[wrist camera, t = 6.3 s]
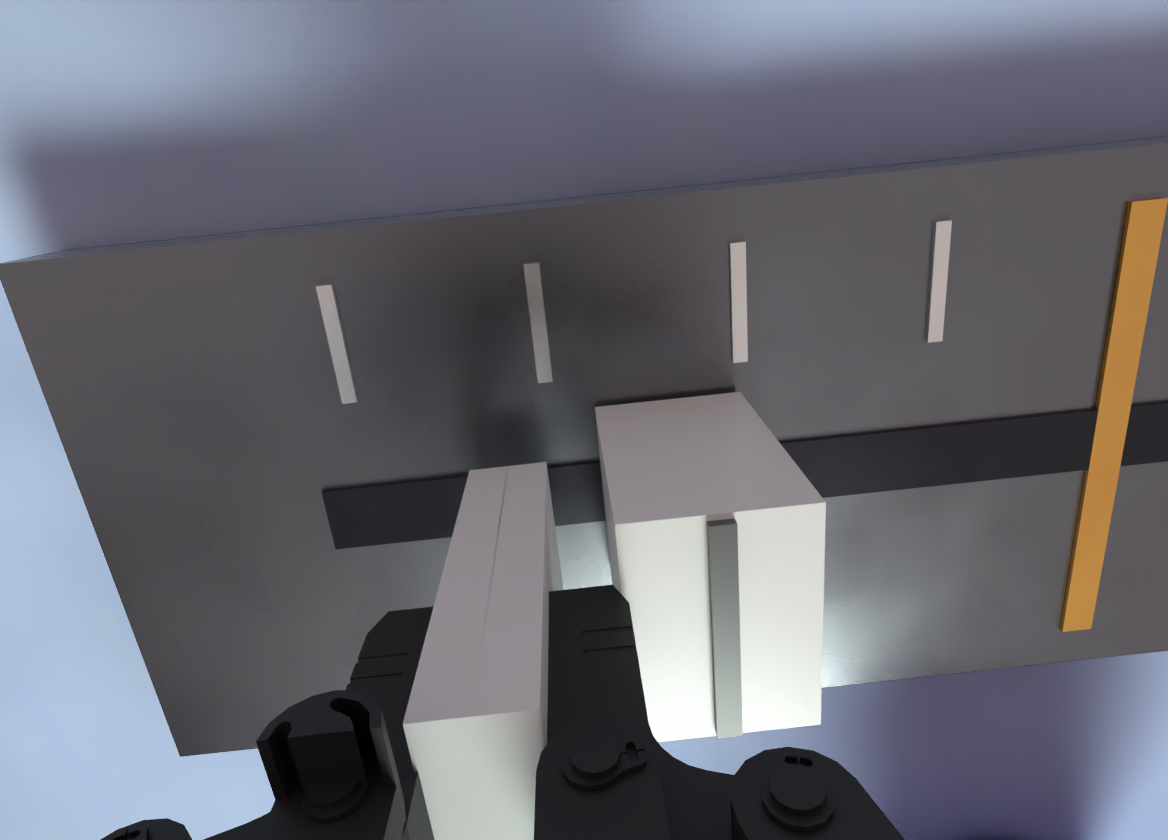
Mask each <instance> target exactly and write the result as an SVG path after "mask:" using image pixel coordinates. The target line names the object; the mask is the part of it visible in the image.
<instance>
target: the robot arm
mask: <svg viewBox="0 0 1168 840" xmlns="http://www.w3.org/2000/svg"><path fill="white" fill-rule="evenodd" d="M256 744H257V746H258V749H259V752H260V755H261V758H262V761H263V764H264V767H265V770H266V773H267V776H268V779H269V782H270V785H271V788H272V791H273V794H274V797H275V803H274V805H273V807H272V810H271V811H270V812H269V813H267V814H266V815H264V816H262V817H259V818H257V819H255V820H253V821H251V822H249V823H246V824H244V825H241V826H239V827H236V828H233V829H231V830H228V831H225V832H223V833H220V834H217V835H214V836H212V837H209V838H206V839H204V840H904V838H903V837H902V836H901V835H900V833H899V832H898V831H897V830H896V828H895V827H894V826H893V825H892V823H891V822H890V821H889V820H888V818H887V817H886V816H885V815H884V813H883V812H882V811H881V810H880V808H879V807H878V806H877V805H876V803H875V802H874V801H873V800H872V798H871V797H870V796H869V795H868V793H867V792H866V791H865V790H864V788H863V787H862V786H861V785H860V783H859V782H858V781H857V779H856V778H854V777H853V776H852V775H851V774H850V773H849V772H848V771H847V770H846V769H844V768H843V767H842V766H841V765H840V764H839V763H838V762H836V761H834V760H832V759H830V758H828V757H826V756H823V755H821V754H819V753H817V752H815V751H811V750H805V749H798V748H792V747H784V748H777V749H770V750H764V751H762V752H761V753H759V754H757V755H755V756H753V757H751V758H749V759H748V760H746V761H745V762H744V763H743V765H742V766H741V767H740V769H739V770H738V771H737V773H736V774H735V775H730V774H724V773H719V772H713V771H707V770H704V769H700V768H696V767H693V766H689V765H687V764H685V763H683V762H681V761H679V760H678V759H676V758H674V757H672V756H671V755H670V754H669V753H668V752H666V751H665V750H664V749H663V748H662V747H661V746H660V745H659V743H658V742H657V740H656V739H655V738H654V736H653V734H652V731H651V728H650V725H649V722H648V716H647V710H646V704H645V697H644V691H643V685H642V679H641V673H640V667H639V660H638V654H637V649H636V642H635V636H634V630H633V624H632V617H631V611H630V605H629V602H628V601H627V600H626V599H625V598H624V597H623V595H622V594H621V593H620V592H619V591H618V590H617V589H616V588H615V587H614V585H604V586H595V587H586V588H577V589H567V590H563V583H562V575H561V568H560V560H559V553H558V545H557V538H556V530H555V522H554V515H553V507H552V500H551V492H550V485H549V477H548V470H547V462H540V463H531V464H522V465H513V466H504V467H495V468H486V469H476V470H469V474H468V478H467V482H466V486H465V489H464V493H463V497H462V501H461V505H460V508H459V512H458V516H457V520H456V524H455V527H454V531H453V535H452V539H451V542H450V546H449V550H448V554H447V558H446V561H445V565H444V569H443V573H442V577H441V580H440V584H439V588H438V592H437V596H436V599H435V603H434V606H433V607H424V608H414V609H405V610H396V611H388V612H387V613H386V614H385V615H384V617H383V618H382V619H381V620H380V621H379V622H378V623H377V624H376V625H375V626H374V627H373V628H372V629H371V630H370V631H369V632H368V633H367V635H366V638H365V641H364V643H363V646H362V648H361V651H360V654H359V656H358V663H356V664H355V667H354V669H353V672H352V674H351V677H350V683H349V684H348V685H347V687H346V690H334V691H330V692H326V693H322V694H318V695H313V696H311V697H309V698H307V699H305V700H303V701H301V702H298V703H296V704H294V705H292V706H290V707H289V708H287V709H286V710H285V711H283V712H282V713H281V714H280V715H278V716H277V717H276V718H275V719H273V720H272V721H271V722H270V723H269V724H268V725H267V727H266V728H265V729H264V731H263V732H262V733H261V735H260V736H259V737H258V739H257V740H256ZM101 840H192V838H191V837H190V835H189V833H188V831H187V830H186V828H185V826H184V825H183V824H180V823H178V822H175V821H172V820H170V819H154V820H143V821H140V822H137V823H135V824H132V825H129V826H126V827H124V828H121V829H118V830H116V831H114V832H113V833H111V834H109V835H108V836H106V837H104V838H103V839H101Z"/></svg>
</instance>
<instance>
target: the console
mask: <svg viewBox="0 0 1168 840" xmlns="http://www.w3.org/2000/svg"><path fill="white" fill-rule="evenodd" d="M0 280H1V283H2V285H3V288H4V291H5V293H6V296H7V298H8V301H9V304H10V306H11V309H12V312H13V314H14V317H15V320H16V322H17V325H18V328H19V330H20V333H21V336H22V338H23V341H24V344H25V346H26V349H27V352H28V354H29V357H30V359H31V362H32V365H33V367H34V370H35V373H36V375H37V378H38V381H39V383H40V386H41V389H42V391H43V394H44V397H45V399H46V402H47V405H48V407H49V410H50V413H51V415H52V418H53V420H54V423H55V426H56V428H57V431H58V434H59V436H60V439H61V442H62V444H63V447H64V450H65V452H66V455H67V458H68V460H69V463H70V466H71V468H72V471H73V474H74V476H75V479H76V482H77V484H78V487H79V489H80V492H81V495H82V497H83V500H84V503H85V505H86V508H87V511H88V513H89V516H90V519H91V521H92V524H93V527H94V529H95V532H96V535H97V537H98V540H99V543H100V545H101V548H102V550H103V553H104V556H105V558H106V561H107V564H108V566H109V569H110V572H111V574H112V577H113V580H114V582H115V585H116V588H117V590H118V593H119V596H120V598H121V601H122V604H123V606H124V609H125V611H126V614H127V617H128V619H129V622H130V625H131V627H132V630H133V633H134V635H135V638H136V641H137V643H138V646H139V649H140V651H141V654H142V657H143V659H144V662H145V665H146V667H147V670H148V672H149V675H150V678H151V680H152V683H153V686H154V688H155V691H156V694H157V696H158V699H159V702H160V704H161V707H162V710H163V712H164V715H165V718H166V720H167V723H168V726H169V728H170V731H171V733H172V736H173V739H174V741H175V744H176V747H177V749H178V752H179V755H180V757H181V756H190V755H199V754H208V753H218V752H227V751H236V750H246V749H255V748H258V746H257V744H256V740H257V739H258V737H259V736H260V735H261V733H262V732H263V731H264V729H265V728H266V727H267V725H268V724H269V723H270V722H271V721H272V720H273V719H275V718H276V717H277V716H278V715H280V714H281V713H282V712H283V711H285V710H286V709H287V708H289V707H290V706H292V705H294V704H296V703H298V702H301V701H303V700H305V699H307V698H309V697H311V696H313V695H318V694H322V693H326V692H330V691H334V690H346V687H347V685H348V684H349V683H350V677H351V674H352V672H353V669H354V667H355V664H356V663H358V656H359V654H360V651H361V648H362V646H363V643H364V641H365V638H366V635H367V633H368V632H369V631H370V630H371V629H372V628H373V627H374V626H375V625H376V624H377V623H378V622H379V621H380V620H381V619H382V618H383V617H384V615H385V614H386V613H387V612H388V611H396V610H405V609H414V608H424V607H433V606H434V603H435V599H436V596H437V592H438V588H439V584H440V580H441V577H442V573H443V569H444V565H445V561H446V558H447V554H448V550H449V546H450V542H451V539H452V535H453V531H454V527H455V524H456V520H457V516H458V512H459V508H460V505H461V501H462V497H463V493H464V489H465V486H466V482H467V478H468V474H469V470H476V469H486V468H495V467H504V466H513V465H522V464H531V463H540V462H547V470H548V477H549V485H550V492H551V500H552V507H553V515H554V522H555V530H556V538H557V545H558V553H559V560H560V568H561V575H562V583H563V590H567V589H577V588H586V587H595V586H604V585H612V577H611V569H610V558H609V548H608V538H607V527H606V517H605V506H604V496H603V486H602V475H601V465H600V455H599V444H598V434H597V424H596V413H595V407H600V406H610V405H620V404H629V403H639V402H648V401H658V400H667V399H677V398H686V397H696V396H705V395H715V394H724V393H734V392H741V394H742V395H743V396H744V398H745V399H746V400H747V401H748V403H749V404H750V405H751V407H752V408H753V409H754V410H755V412H756V413H757V414H758V416H759V417H760V418H761V419H762V421H763V422H764V423H765V425H766V426H767V427H768V428H769V430H770V431H771V432H772V434H773V435H774V436H775V437H776V439H777V440H778V441H779V443H780V444H781V445H782V446H783V448H784V449H785V450H786V452H787V453H788V454H789V455H790V457H791V458H792V459H793V461H794V462H795V463H796V465H797V466H798V467H799V468H800V470H801V471H802V472H803V474H804V475H805V476H806V477H807V479H808V480H809V481H810V483H811V484H812V485H813V486H814V488H815V489H816V490H817V492H818V493H819V494H820V495H821V497H822V498H823V499H824V501H825V502H826V520H825V563H824V606H823V650H822V688H824V687H833V686H842V685H852V684H861V683H870V682H879V681H889V680H898V679H907V678H917V677H926V676H935V675H945V674H954V673H963V672H973V671H982V670H991V669H1001V668H1010V667H1019V666H1029V665H1038V664H1047V663H1057V662H1066V661H1075V660H1085V659H1094V658H1103V657H1112V656H1122V655H1131V654H1140V653H1150V652H1159V651H1168V137H1158V138H1148V139H1139V140H1129V141H1119V142H1109V143H1100V144H1090V145H1080V146H1071V147H1061V148H1051V149H1042V150H1032V151H1022V152H1013V153H1003V154H993V155H983V156H974V157H964V158H954V159H945V160H935V161H925V162H916V163H906V164H896V165H887V166H877V167H867V168H858V169H848V170H838V171H828V172H819V173H809V174H799V175H790V176H780V177H770V178H761V179H751V180H741V181H732V182H722V183H712V184H702V185H693V186H683V187H673V188H664V189H654V190H644V191H635V192H625V193H615V194H606V195H596V196H586V197H576V198H567V199H557V200H547V201H538V202H528V203H518V204H509V205H499V206H489V207H480V208H470V209H460V210H451V211H441V212H431V213H421V214H412V215H402V216H392V217H383V218H373V219H363V220H354V221H344V222H334V223H325V224H315V225H305V226H295V227H286V228H276V229H266V230H257V231H247V232H237V233H228V234H218V235H208V236H199V237H189V238H179V239H169V240H160V241H150V242H140V243H131V244H121V245H111V246H102V247H92V248H82V249H73V250H63V251H57V252H53V253H48V254H43V255H38V256H33V257H29V258H24V259H19V260H14V261H9V262H5V263H0Z"/></svg>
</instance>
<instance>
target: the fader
mask: <svg viewBox="0 0 1168 840" xmlns="http://www.w3.org/2000/svg"><path fill="white" fill-rule="evenodd" d="M595 413H596V424H597V434H598V444H599V455H600V465H601V475H602V486H603V496H604V506H605V517H606V527H607V538H608V548H609V558H610V569H611V577H612V585H614V587H615V588H616V589H617V590H618V591H619V592H620V593H621V594H622V595H623V597H624V598H625V599H626V600H627V601H628V602H629V605H630V611H631V617H632V624H633V630H634V636H635V642H636V649H637V654H638V660H639V667H640V673H641V679H642V685H643V691H644V697H645V704H646V710H647V716H648V722H649V725H650V728H651V731H652V734H653V736H654V738H655V739H656V740H657V742H664V741H673V740H683V739H692V738H701V737H710V736H717V739H719V738H728V737H738V736H743V733H748V732H757V731H766V730H775V729H785V728H794V727H803V726H813V725H821V693H822V650H823V606H824V563H825V520H826V502H825V501H824V499H823V498H822V497H821V495H820V494H819V493H818V492H817V490H816V489H815V488H814V486H813V485H812V484H811V483H810V481H809V480H808V479H807V477H806V476H805V475H804V474H803V472H802V471H801V470H800V468H799V467H798V466H797V465H796V463H795V462H794V461H793V459H792V458H791V457H790V455H789V454H788V453H787V452H786V450H785V449H784V448H783V446H782V445H781V444H780V443H779V441H778V440H777V439H776V437H775V436H774V435H773V434H772V432H771V431H770V430H769V428H768V427H767V426H766V425H765V423H764V422H763V421H762V419H761V418H760V417H759V416H758V414H757V413H756V412H755V410H754V409H753V408H752V407H751V405H750V404H749V403H748V401H747V400H746V399H745V398H744V396H743V395H742V394H741V392H734V393H724V394H715V395H705V396H696V397H686V398H677V399H667V400H658V401H648V402H639V403H629V404H620V405H610V406H600V407H595Z"/></svg>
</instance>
